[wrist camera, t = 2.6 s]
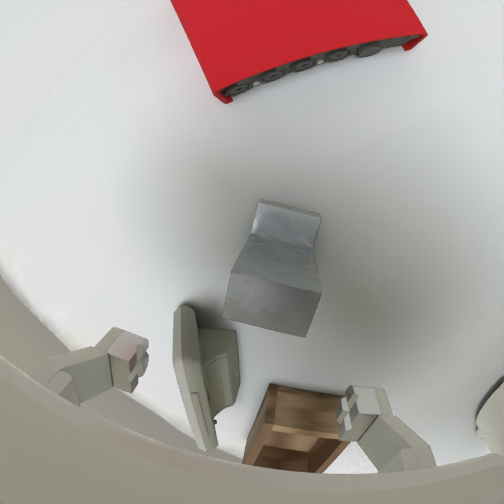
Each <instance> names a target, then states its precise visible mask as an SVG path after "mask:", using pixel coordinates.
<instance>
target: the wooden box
mask: <svg viewBox="0 0 504 504" xmlns="http://www.w3.org/2000/svg"><path fill="white" fill-rule="evenodd" d="M344 397H345V396H337V395H330V394H324V393H318V392H311V391H306V390H300V389H295V388H290V387H285V386H280V385H275V384H269V386H268V389H267V392H266V394H265V397H264V399H263V402H262V404H261V407H260V409H259V412H258V414H257V417H256V419H255V422H254V424H253V427H252V429H251V431H250V434H249V436H248V439H247V442H246V447H245V452H244V457H243V462H242V464H245V465H251V466H257V467H263V468H270V469H277V470H285V471H295V472H307V473H323V472H324V471H325V470H326V469H327V468H328V467H329V466H330V465H331V464H332V462H333V461H334V460H335V459H336V458H337V457H338V456H339V455H340V454H341V452H342V451H343V450H344V449H345V448H346V447H347V446H348V444H349V443H350V442H351V441H340V440H339V436H338V427H339V425H340V423H339V422H338V421H337V420H336V410H337V406H338V404H339V402H340V400H341V399H342V398H344Z"/></svg>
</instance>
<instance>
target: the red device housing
mask: <svg viewBox="0 0 504 504" xmlns="http://www.w3.org/2000/svg"><path fill="white" fill-rule="evenodd" d="M170 1H171V3H172V5H173V7H174V9H175V11H176V13H177V15H178V17H179V20H180V22H181V24H182V26H183V28H184V30H185V33H186V35H187V37H188V39H189V41H190V43H191V46H192V48H193V50H194V52H195V54H196V57H197V59H198V61H199V63H200V66H201V68H202V70H203V72H204V74H205V77H206V79H207V81H208V84H209V86H210V88H211V90H212V93H213V95H214V96H215V97H217V98H218V99H219V100H221V101H222V102H223V103H225V104H228V103H230V102H232V101H233V100H232V97H231V96H233V95H237V94H240V93H242V92H244V91H246V90H248V89H249V88H250V87H252V86H255V85H258V84H260V83H262V82H269V81H273V80H276V79H278V78H280V77H282V76H284V75H285V74H287V73H290V72H293V71H294V72H297V71H302V70H305V69H308V68H310V67H312V66H314V65H316V64H321V63H323V62H326V61H329V62H331V61H337V60H340V59H343V58H345V57H347V56H349V55H354V54H359V56H361V57H365V56H370V55H373V54H376V53H378V52H380V51H381V50H382V49H383V48H388V47H394V46H401V45H402V47H403V49H404V51H407V50H411V49H412V48H413V47H415V46H416V45H417V44H418V43H419V42H421V41H422V40H423V39H424V38H425V37H426V36H427V35H428V34H427V32H426V30H425V29H424V27H423V25H422V23H421V22H420V20H419V18H418V17H417V15H416V14H415V12H414V10H413V9H412V7H411V6H410V4H409V3H408V1H407V0H170Z"/></svg>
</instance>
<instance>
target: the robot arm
mask: <svg viewBox="0 0 504 504" xmlns="http://www.w3.org/2000/svg"><path fill="white" fill-rule="evenodd" d="M148 347H149V343H148V339H146V338H144V337H141V336H138V335H136V334H133V333H131V332H128V331H125V330H122V329H120V328H117V327H113V328H112V329H111V330H110V331H109V332H108V333H107V334H106V335H105V336H104V337H103V338H102V339H101V340H100V341H99V343H98V344H97V345H96V346H95V347H91V346H90V347H87V348H83V349H80V350H76V351H72V352H69V353H65V354H61V355H58V356H53V357H50V358H46V359H44V360H43V361H41V362H40V363H39V365H37V366H36V367H35V368H34V369H33V370H32V371H31V372H30V373H29V374H28V375H27V374H25V373H24V372H22V371H21V370H19V369H18V368H17V367H15V366H14V365H13V364H11V363H10V362H9V361H7V360H6V359H5V358H4V357H2V356H1V355H0V504H504V383H503V384H502V385H501V386H500V387H499V388H498V389H497V390H496V391H495V392H494V393H493V394H492V395H491V396H490V398H489V399H488V400H487V401H486V403H485V404H484V406H483V407H482V409H481V410H480V412H479V414H478V416H477V419H476V425H477V427H478V430H477V433H476V436H477V437H478V439H481V438H483V439H484V441H485V442H486V444H487V446H488V448H489V450H490V451H491V453H492V454H487V455H484V456H481V457H477V458H473V459H469V460H465V461H461V462H457V463H452V464H447V465H442V466H436V463H435V460H434V457H433V453H432V451H431V448H430V446H429V445H428V444H427V443H426V442H425V441H424V440H423V439H421V438H420V437H419V436H418V435H417V434H416V433H415V432H414V431H412V430H411V429H410V428H409V427H408V426H407V425H406V424H405V423H404V422H402V421H401V420H400V419H399V418H398V417H397V416H393V414H392V411H391V408H390V405H389V402H388V399H387V396H386V393H385V390H384V389H383V388H373V387H372V388H371V387H361V386H351V385H350V386H349V387H348V388H347V390H346V392H345V393H346V397H344V398H342V399H341V400H340V402H339V404H338V406H337V410H336V420H337V421H338V422H339V423H340V425H339V427H338V436H339V440H340V441H354V442H357V443H358V444H359V446H360V447H361V448H362V450H363V451H364V452H365V454H366V455H367V456H368V458H369V459H370V460H371V462H372V463H373V464H374V466H375V467H376V469H377V470H378V471H379V472H378V473H373V474H323V473H307V472H295V471H285V470H277V469H270V468H263V467H257V466H251V465H245V464H240V463H235V462H230V461H226V460H221V459H217V458H213V457H209V456H205V455H201V454H197V453H194V452H190V451H187V450H184V449H181V448H177V447H174V446H171V445H168V444H165V443H162V442H159V441H156V440H153V439H151V438H148V437H146V436H143V435H140V434H138V433H135V432H133V431H130V430H128V429H125V428H123V427H121V426H118V425H116V424H114V423H112V422H110V421H107V420H105V419H103V418H101V417H99V416H97V415H95V414H93V413H91V412H89V411H87V410H85V409H83V408H81V406H80V403H82V402H84V401H86V400H89V399H91V398H93V397H95V396H97V395H99V394H101V393H103V392H105V391H107V390H109V389H111V388H113V387H116V388H118V389H121V390H123V391H126V392H129V393H131V394H132V392H133V391H134V389H135V388H136V386H137V384H138V378H139V377H141V376H143V375H144V373H145V371H146V368H147V366H148V360H149V355H148V353H147V352H146V350H147V349H148Z"/></svg>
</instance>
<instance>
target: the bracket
mask: <svg viewBox="0 0 504 504" xmlns="http://www.w3.org/2000/svg"><path fill="white" fill-rule="evenodd" d="M320 221H321V218H320V215H319V214H317V213H314V212H310V211H306V210H302V209H298V208H294V207H290V206H286V205H282V204H278V203H274V202H270V201H266V200H262V199H261V200H260V201H259V203H258V206H257V211H256V215H255V220H254V224H253V229H252V233H251V235H250V237H249V239H248V241H247V243H246V244H245V246H244V248H243V250H242V252H241V254H240V255H239V257H238V259H237V261H236V263H235V265H234V267H233V269H232V270H231V274H230V279H229V284H228V289H227V294H226V299H225V304H224V309H223V314H222V317H223V318H226V319H230V320H234V321H238V322H242V323H245V324H249V325H253V326H257V327H261V328H265V329H270V330H274V331H278V332H282V333H287V334H291V335H296V336H300V337H306V335H307V332H308V329H309V327H310V324H311V321H312V319H313V316H314V313H315V311H316V308H317V305H318V302H319V299H320V297H321V294H322V293H321V288H320V283H319V278H318V273H317V268H316V263H315V258H314V253H313V245H314V242H315V238H316V235H317V231H318V228H319V224H320Z"/></svg>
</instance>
